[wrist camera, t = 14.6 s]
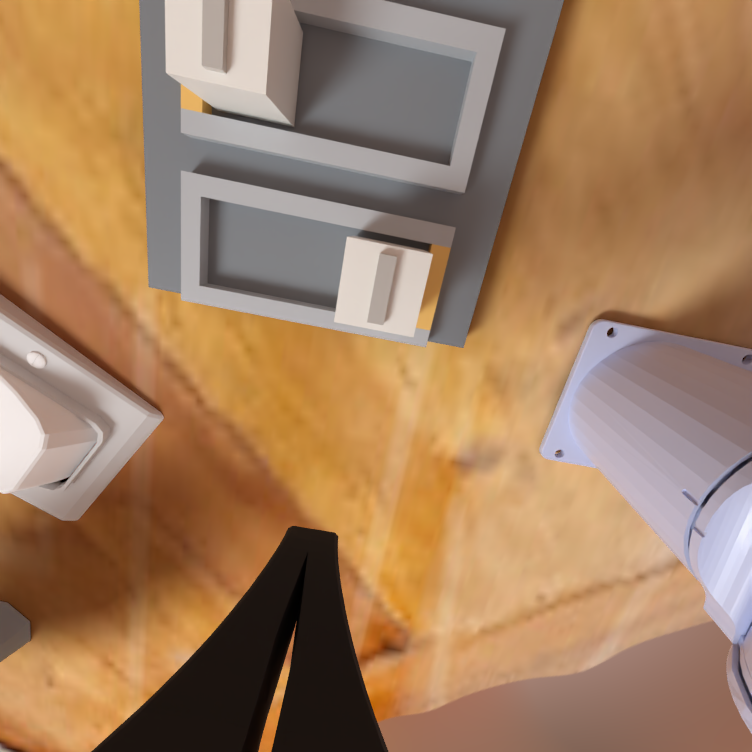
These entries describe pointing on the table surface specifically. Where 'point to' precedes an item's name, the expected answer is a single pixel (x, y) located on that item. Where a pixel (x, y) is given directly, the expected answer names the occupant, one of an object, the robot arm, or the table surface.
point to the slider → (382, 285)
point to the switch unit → (347, 158)
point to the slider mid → (237, 55)
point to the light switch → (61, 419)
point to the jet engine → (12, 630)
